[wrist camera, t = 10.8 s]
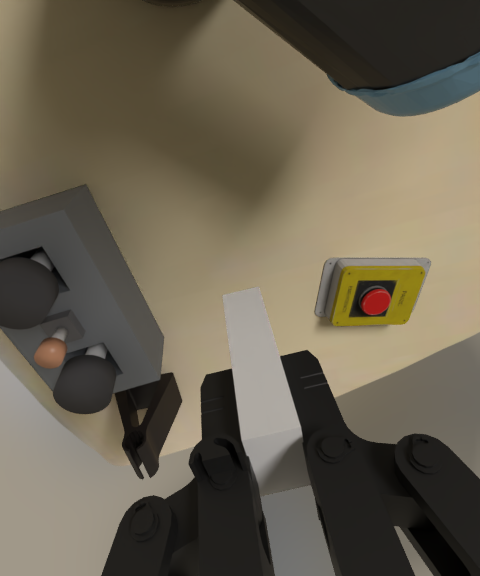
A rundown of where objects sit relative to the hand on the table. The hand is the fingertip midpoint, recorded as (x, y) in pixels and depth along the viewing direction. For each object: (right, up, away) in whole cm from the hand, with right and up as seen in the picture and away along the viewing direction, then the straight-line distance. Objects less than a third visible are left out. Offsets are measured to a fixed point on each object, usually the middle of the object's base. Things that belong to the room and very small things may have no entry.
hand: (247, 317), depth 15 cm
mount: (-19, +2, +29) cm, 35 cm away
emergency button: (+18, +2, +35) cm, 40 cm away
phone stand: (-14, -14, +40) cm, 45 cm away
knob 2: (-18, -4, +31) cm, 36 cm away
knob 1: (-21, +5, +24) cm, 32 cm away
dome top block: (-18, -3, +22) cm, 29 cm away
